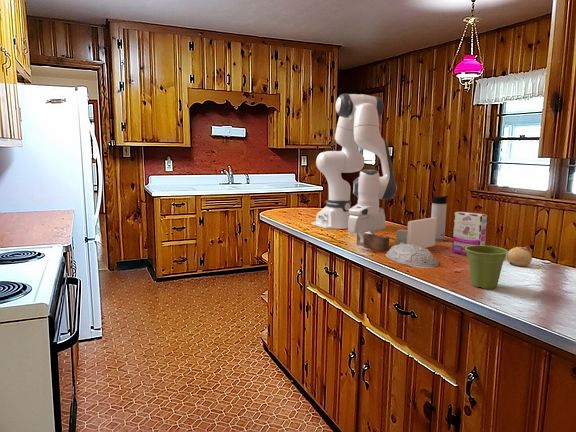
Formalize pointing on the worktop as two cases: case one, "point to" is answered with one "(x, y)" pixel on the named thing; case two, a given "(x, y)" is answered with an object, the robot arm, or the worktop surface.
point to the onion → (519, 256)
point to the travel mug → (439, 216)
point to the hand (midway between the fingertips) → (366, 241)
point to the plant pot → (485, 265)
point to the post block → (418, 233)
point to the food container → (412, 255)
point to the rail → (374, 242)
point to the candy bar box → (468, 231)
